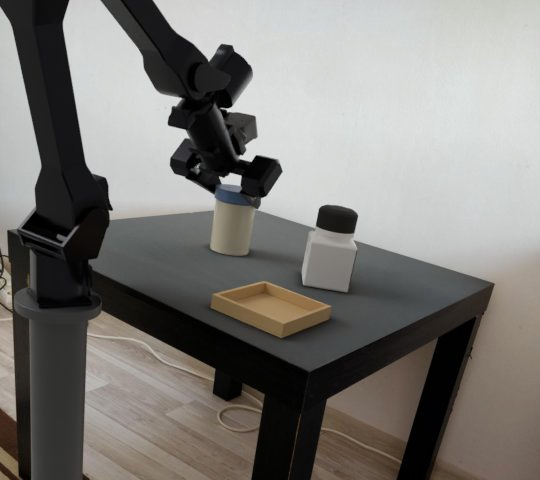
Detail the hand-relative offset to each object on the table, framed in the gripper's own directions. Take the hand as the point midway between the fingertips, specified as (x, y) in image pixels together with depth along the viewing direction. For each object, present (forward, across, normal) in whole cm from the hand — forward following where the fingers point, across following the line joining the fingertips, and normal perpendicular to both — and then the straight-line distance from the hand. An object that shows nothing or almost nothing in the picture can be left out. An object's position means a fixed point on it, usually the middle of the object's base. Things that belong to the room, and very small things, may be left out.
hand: (240, 202), depth 99 cm
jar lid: (-2, 0, 0) cm, 2 cm away
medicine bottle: (+5, -19, +7) cm, 21 cm away
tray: (-9, -22, +21) cm, 32 cm away
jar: (+5, 0, +7) cm, 8 cm away
